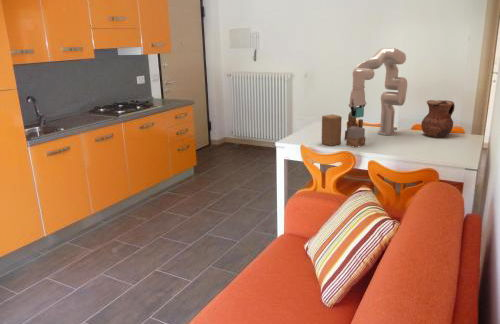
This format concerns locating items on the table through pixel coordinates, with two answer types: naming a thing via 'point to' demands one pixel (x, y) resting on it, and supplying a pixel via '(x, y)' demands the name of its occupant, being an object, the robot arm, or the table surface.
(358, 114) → the teal cube
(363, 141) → the tower base
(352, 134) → the tower mid
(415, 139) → the table surface
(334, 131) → the wooden block
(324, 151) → the table surface
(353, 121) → the wooden toy
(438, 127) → the jug
